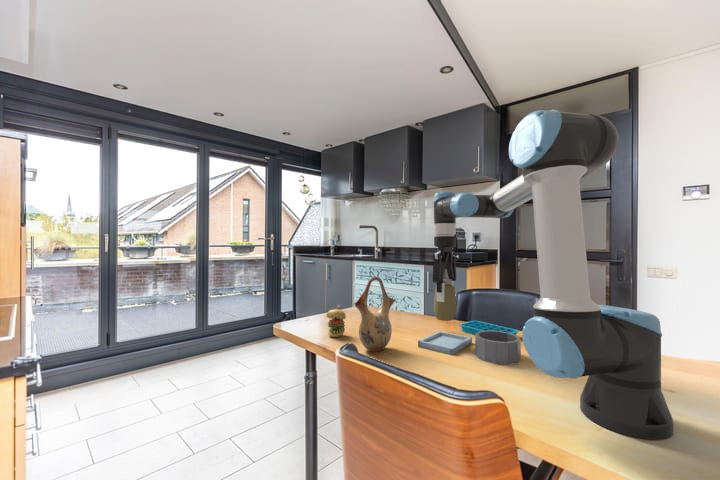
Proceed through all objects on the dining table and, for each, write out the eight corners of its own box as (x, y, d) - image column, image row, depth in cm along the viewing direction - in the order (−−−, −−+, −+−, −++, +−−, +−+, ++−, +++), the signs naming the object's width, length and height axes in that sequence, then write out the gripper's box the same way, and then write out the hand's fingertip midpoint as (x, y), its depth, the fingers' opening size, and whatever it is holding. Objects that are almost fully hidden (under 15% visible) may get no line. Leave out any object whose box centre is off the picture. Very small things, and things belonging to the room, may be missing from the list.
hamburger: (324, 337, 125) (323, 306, 125) (329, 332, 132) (329, 303, 132) (343, 339, 123) (343, 307, 123) (348, 333, 130) (347, 303, 130)
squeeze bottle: (459, 318, 117) (459, 268, 117) (453, 323, 110) (452, 270, 110) (437, 315, 122) (437, 267, 121) (430, 320, 115) (430, 269, 115)
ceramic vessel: (362, 358, 103) (361, 279, 103) (348, 350, 111) (347, 277, 111) (402, 349, 111) (402, 276, 111) (387, 342, 119) (387, 274, 119)
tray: (452, 355, 106) (452, 349, 106) (417, 346, 114) (417, 341, 114) (472, 343, 118) (471, 337, 118) (439, 336, 126) (439, 331, 126)
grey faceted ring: (513, 367, 95) (512, 345, 95) (469, 357, 103) (469, 337, 103) (524, 355, 105) (524, 335, 105) (484, 347, 113) (484, 328, 113)
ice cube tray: (474, 327, 140) (474, 320, 140) (520, 338, 124) (520, 330, 124) (457, 331, 134) (457, 324, 134) (503, 344, 117) (503, 336, 117)
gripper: (447, 235, 126) (447, 295, 126) (421, 235, 111) (422, 302, 111) (465, 235, 121) (466, 297, 121) (441, 235, 106) (442, 305, 106)
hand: (445, 300), depth 116 cm, fingers closed on squeeze bottle, 6 cm apart
